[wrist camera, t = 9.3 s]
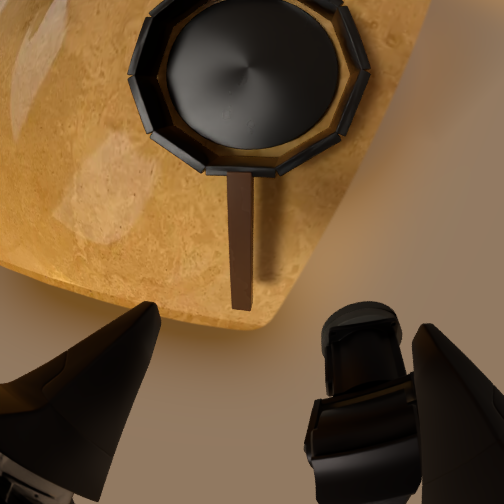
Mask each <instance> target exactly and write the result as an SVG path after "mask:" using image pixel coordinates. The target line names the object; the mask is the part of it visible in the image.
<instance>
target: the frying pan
mask: <svg viewBox="0 0 504 504" xmlns="http://www.w3.org/2000/svg"><path fill="white" fill-rule="evenodd" d="M208 1H209V0H164V1H162V2H161V3H160V4H159V5H157V6H156V7H155V8H154V9H153V10H152V11H150V12H149V14H150V16H151V17H146V18H145V20H144V23H143V26H142V28H141V31H140V34H139V37H138V40H137V43H136V46H135V49H134V52H133V56H132V59H131V62H130V66H129V70H128V73H127V74H128V75H133V76H131V77H130V78H128V83H129V86H130V89H131V92H132V94H133V97H134V100H135V103H136V106H137V109H138V112H139V115H140V117H141V120H142V123H143V126H144V128H145V131H146V134H150V133H152V134H151V136H150V139H152V140H153V141H155V142H156V143H158V144H159V145H161V146H162V147H164V148H165V149H166V150H168V151H169V152H171V153H172V154H174V155H175V156H177V157H178V158H179V159H181V160H182V161H184V162H185V163H187V164H188V165H189V166H191V167H192V168H194V169H195V170H197V171H198V172H199V173H203V172H204V171H205V170H206V175H210V176H227V204H228V234H229V259H230V281H231V301H232V309H236V310H245V311H251V308H252V303H253V214H254V177H267V178H275V177H276V173H278V174H279V176H282V175H284V174H286V173H287V172H289V171H291V170H292V169H294V168H296V167H297V166H299V165H301V164H302V163H304V162H306V161H307V160H309V159H311V158H312V157H314V156H316V155H318V154H319V153H321V152H323V151H325V150H326V149H328V148H330V147H332V146H333V145H335V144H337V143H339V142H340V141H341V138H340V136H339V135H338V134H340V135H342V136H344V137H345V136H346V134H347V132H348V130H349V127H350V125H351V122H352V120H353V118H354V115H355V113H356V110H357V108H358V105H359V103H360V100H361V98H362V95H363V93H364V90H365V88H366V85H367V83H368V80H369V78H370V75H371V74H370V73H369V72H367V70H369V69H371V67H370V64H369V61H368V58H367V55H366V52H365V49H364V46H363V43H362V41H361V38H360V35H359V33H358V30H357V28H356V25H355V23H354V20H353V18H352V15H351V13H350V11H349V9H348V7H347V6H342V5H343V3H344V2H343V1H342V0H298V1H300V2H301V3H303V4H305V5H306V6H308V7H310V8H311V9H313V10H314V11H316V12H318V13H319V14H321V15H322V16H324V17H325V18H327V19H328V20H330V21H331V22H332V25H333V27H334V30H335V32H336V35H337V37H338V40H339V43H340V46H341V48H342V51H343V54H344V57H345V60H346V63H347V66H348V69H349V72H350V77H349V80H348V82H347V85H346V87H345V90H344V92H343V95H342V97H341V100H340V102H339V105H338V107H337V110H336V112H335V114H334V117H333V119H332V122H331V124H330V127H329V128H327V129H326V130H324V131H322V132H320V133H319V134H317V135H315V136H314V137H312V138H310V139H308V140H307V141H305V142H303V143H302V144H300V145H298V146H297V147H295V148H293V149H292V150H290V151H289V152H287V153H285V154H284V155H282V156H280V157H279V158H270V157H243V156H218V155H217V154H215V153H214V152H213V151H211V150H210V149H208V148H207V147H205V146H204V145H202V144H201V143H200V142H198V141H197V140H195V139H194V138H192V137H191V136H189V135H188V134H186V133H185V132H183V131H182V130H180V129H179V128H177V127H176V126H174V124H173V121H172V118H171V116H170V113H169V110H168V107H167V104H166V102H165V99H164V96H163V93H162V90H161V87H160V85H159V82H158V79H157V75H158V72H159V68H160V65H161V62H162V59H163V56H164V53H165V50H166V47H167V44H168V41H169V38H170V35H171V33H172V30H173V27H174V26H176V25H177V24H178V23H179V22H181V21H182V20H183V19H184V18H186V17H187V16H188V15H190V14H191V13H192V12H194V11H195V10H196V9H198V8H199V7H201V6H202V5H203V4H205V3H206V2H208ZM166 78H167V87H168V91H169V95H170V98H171V100H172V103H173V105H174V107H175V109H176V111H177V112H178V114H179V115H180V116H181V118H182V119H183V120H184V121H185V122H186V123H187V125H188V126H189V127H191V128H192V129H193V130H194V131H195V132H197V133H198V134H200V135H201V136H203V137H204V138H206V139H208V140H210V141H212V142H214V143H217V144H220V145H223V146H226V147H231V148H236V149H246V150H253V149H264V148H271V147H274V146H278V145H281V144H284V143H286V142H289V141H291V140H293V139H295V138H297V137H298V136H300V135H302V134H303V133H305V132H306V131H307V130H309V129H310V128H311V127H312V126H313V125H314V124H315V123H316V122H317V121H318V120H319V119H320V118H321V117H322V115H323V114H324V113H325V111H326V110H327V108H328V106H329V105H330V103H331V101H332V98H333V96H334V93H335V89H336V85H337V79H338V63H337V58H336V53H335V50H334V47H333V45H332V42H331V40H330V38H329V37H328V35H327V33H326V32H325V30H324V29H323V28H322V27H321V25H320V24H319V23H318V22H317V21H316V20H315V19H314V18H313V17H312V16H310V15H309V14H308V13H306V12H305V11H304V10H302V9H300V8H299V7H297V6H295V5H293V4H291V3H288V2H286V1H283V0H224V1H221V2H219V3H216V4H214V5H212V6H210V7H208V8H206V9H205V10H203V11H202V12H200V13H199V14H197V15H196V16H195V17H194V18H193V19H191V20H190V21H189V22H188V23H187V25H186V26H185V27H184V28H183V29H182V30H181V32H180V33H179V35H178V36H177V38H176V40H175V42H174V44H173V46H172V48H171V51H170V54H169V57H168V62H167V72H166Z"/></svg>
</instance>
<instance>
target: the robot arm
mask: <svg viewBox="0 0 504 504" xmlns="http://www.w3.org/2000/svg"><path fill="white" fill-rule="evenodd" d="M393 322H394V323H393ZM160 327H161V318H160V314H159V311H158V307H157V304H156V303H154V302H149V301H144V302H142V303H140V304H139V305H137V306H136V307H134V308H132V309H131V310H129V311H128V312H126V313H124V314H123V315H121V316H120V317H118V318H117V319H115V320H113V321H112V322H110V323H109V324H107V325H106V326H104V327H102V328H101V329H99V330H98V331H96V332H95V333H93V334H91V335H90V336H88V337H87V338H85V339H84V340H82V341H80V342H79V343H77V344H76V345H75V346H73V347H71V348H70V349H68V351H65V352H63V353H62V354H60V355H59V356H57V357H55V358H54V359H52V360H51V361H49V362H47V363H45V364H44V365H42V366H40V367H39V368H37V369H35V370H33V371H31V372H29V373H27V374H25V375H23V376H21V377H19V378H18V379H16V380H14V381H11V382H9V383H4V384H0V504H74V501H73V499H72V497H73V494H74V493H75V494H77V495H80V496H82V497H85V498H87V499H90V500H92V501H96V502H98V501H99V499H100V496H101V493H102V490H103V487H104V483H105V481H106V477H107V474H108V471H109V469H110V466H111V463H112V460H113V456H114V454H115V451H116V448H117V445H118V442H119V440H120V437H121V434H122V431H123V429H124V426H125V424H126V421H127V418H128V416H129V413H130V410H131V408H132V405H133V402H134V400H135V398H136V395H137V393H138V390H139V388H140V385H141V383H142V380H143V378H144V376H145V373H146V371H147V368H148V366H149V363H150V360H151V357H152V353H153V350H154V347H155V344H156V340H157V337H158V333H159V330H160ZM397 330H398V320H397V318H395V317H392V318H386V319H381V320H375V321H369V322H362V323H356V324H349V325H342V326H334V327H331V328H329V329H328V337H329V346H326V347H325V348H324V350H325V382H326V392H327V395H328V396H333V397H331V398H326V399H317V400H315V401H314V406H313V408H312V412H311V416H310V421H309V425H308V429H307V433H306V437H305V441H304V444H305V445H304V452H305V453H306V455H307V459H308V462H309V464H310V466H311V467H312V468H313V469H314V475H315V483H316V500H317V502H318V503H319V504H406V503H407V501H408V500H409V498H410V496H411V495H413V494H415V493H416V491H417V489H418V487H419V485H420V483H421V480H422V485H423V486H422V504H504V395H503V394H502V393H501V392H500V391H499V390H498V389H497V388H496V387H495V386H494V385H493V383H492V382H491V381H490V380H489V379H488V378H487V377H486V376H485V375H484V374H483V373H482V372H481V371H480V370H479V369H478V368H477V367H476V366H475V365H474V363H473V362H472V361H471V360H469V358H468V357H466V355H465V354H464V353H463V352H461V350H460V349H458V348H457V347H456V346H455V345H454V344H453V343H452V342H451V341H450V340H449V339H448V338H447V337H446V336H445V335H444V334H443V333H442V332H441V331H440V330H439V329H438V328H437V327H435V326H434V325H433V324H431V323H427V324H422V325H421V326H420V327H419V329H418V331H417V333H416V335H415V337H414V339H413V341H412V354H413V366H414V371H413V372H410V374H408V375H407V374H406V370H405V366H404V362H403V358H402V355H401V351H400V347H399V343H398V340H397Z"/></svg>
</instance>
